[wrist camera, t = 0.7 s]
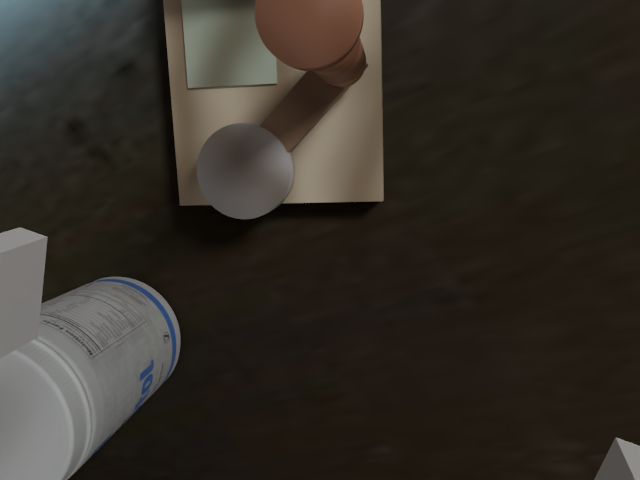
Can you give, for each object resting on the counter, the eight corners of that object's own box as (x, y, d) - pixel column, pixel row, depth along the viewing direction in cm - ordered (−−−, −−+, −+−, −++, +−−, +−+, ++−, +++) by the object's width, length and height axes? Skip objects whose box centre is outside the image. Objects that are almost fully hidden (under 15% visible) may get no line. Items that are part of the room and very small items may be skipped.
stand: (190, 202, 39) (147, 215, 32) (169, -66, 36) (116, -115, 29) (383, 198, 37) (381, 210, 30) (379, -85, 34) (375, -143, 27)
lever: (254, 233, 37) (167, 290, 22) (189, 172, 36) (61, 191, 22) (400, 73, 33) (405, 25, 19) (330, 6, 33) (284, -92, 19)
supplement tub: (163, 408, 43) (46, 544, 28) (56, 361, 43) (-112, 470, 29) (202, 301, 41) (97, 388, 26) (89, 252, 41) (-75, 311, 27)
